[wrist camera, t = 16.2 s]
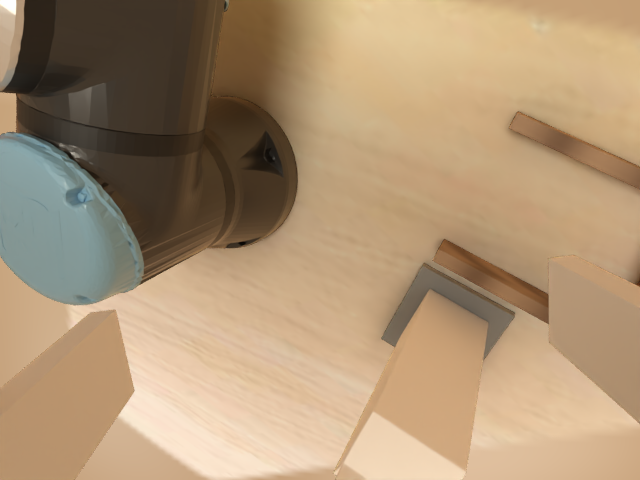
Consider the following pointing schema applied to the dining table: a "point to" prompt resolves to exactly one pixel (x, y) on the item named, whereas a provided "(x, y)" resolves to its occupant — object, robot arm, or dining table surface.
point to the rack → (496, 277)
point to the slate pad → (456, 293)
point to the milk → (422, 400)
